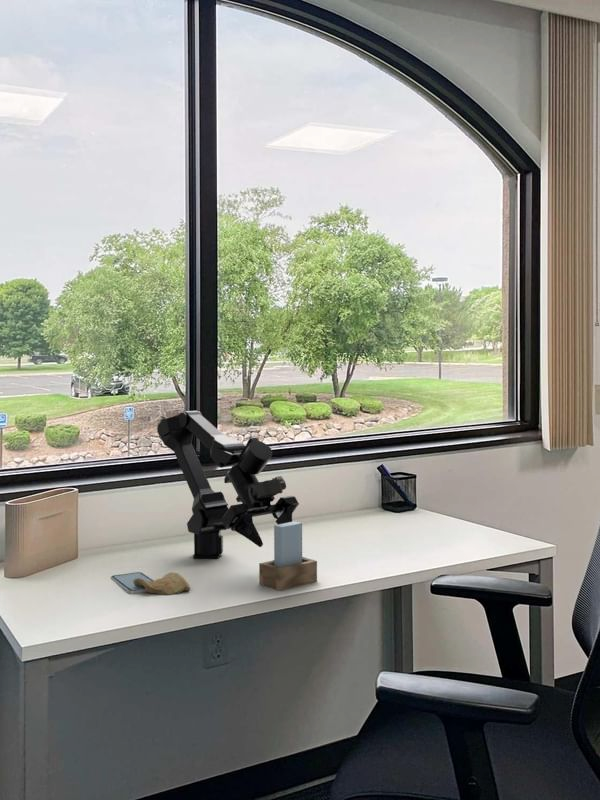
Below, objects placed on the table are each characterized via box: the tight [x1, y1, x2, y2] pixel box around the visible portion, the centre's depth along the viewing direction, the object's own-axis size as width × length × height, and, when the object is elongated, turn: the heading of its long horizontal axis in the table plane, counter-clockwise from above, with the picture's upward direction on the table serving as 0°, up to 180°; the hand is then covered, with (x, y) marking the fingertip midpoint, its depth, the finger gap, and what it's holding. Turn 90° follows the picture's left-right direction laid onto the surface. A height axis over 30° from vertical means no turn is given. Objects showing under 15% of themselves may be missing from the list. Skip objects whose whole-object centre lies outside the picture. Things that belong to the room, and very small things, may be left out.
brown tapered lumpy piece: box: [133, 571, 191, 596], centre depth 169 cm, size 11×4×10 cm
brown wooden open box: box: [258, 556, 318, 592], centre depth 173 cm, size 11×7×4 cm, turn 132°
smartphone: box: [110, 571, 155, 595], centre depth 173 cm, size 7×1×15 cm
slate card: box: [273, 520, 303, 568], centre depth 173 cm, size 6×2×13 cm, turn 132°
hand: (277, 542), depth 176 cm, fingers open, 9 cm apart
